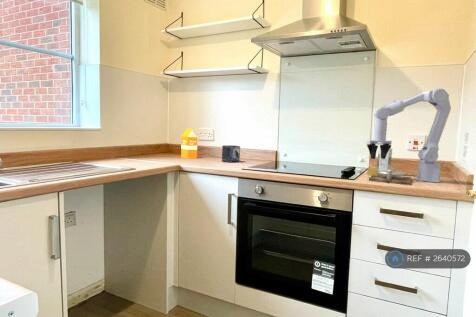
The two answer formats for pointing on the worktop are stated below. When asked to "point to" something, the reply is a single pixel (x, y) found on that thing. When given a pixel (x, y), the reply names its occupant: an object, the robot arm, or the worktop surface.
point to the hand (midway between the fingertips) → (378, 158)
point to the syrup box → (384, 160)
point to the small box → (230, 153)
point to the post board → (391, 179)
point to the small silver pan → (383, 172)
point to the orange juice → (189, 144)
